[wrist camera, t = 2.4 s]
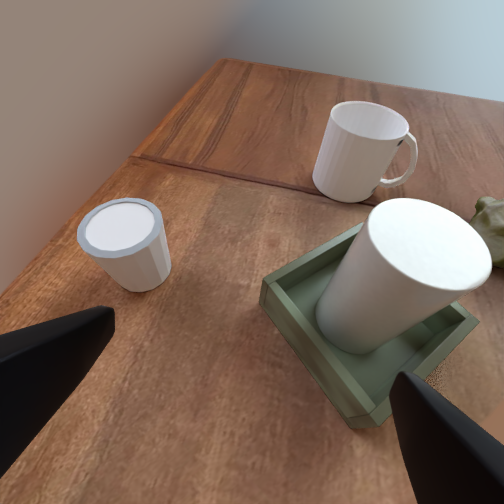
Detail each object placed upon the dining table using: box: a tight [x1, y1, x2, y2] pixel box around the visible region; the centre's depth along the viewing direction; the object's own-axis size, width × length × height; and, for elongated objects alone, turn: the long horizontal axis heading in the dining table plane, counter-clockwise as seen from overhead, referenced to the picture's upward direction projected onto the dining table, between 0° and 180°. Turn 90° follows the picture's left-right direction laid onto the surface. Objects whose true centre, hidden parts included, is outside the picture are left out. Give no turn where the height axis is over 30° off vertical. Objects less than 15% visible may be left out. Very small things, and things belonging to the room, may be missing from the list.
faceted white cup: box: [77, 198, 172, 292], centre depth 24 cm, size 7×7×7 cm
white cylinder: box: [315, 198, 492, 354], centre depth 19 cm, size 7×7×12 cm
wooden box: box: [259, 222, 480, 429], centre depth 23 cm, size 13×13×5 cm
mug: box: [312, 101, 418, 203], centre depth 33 cm, size 12×9×9 cm
